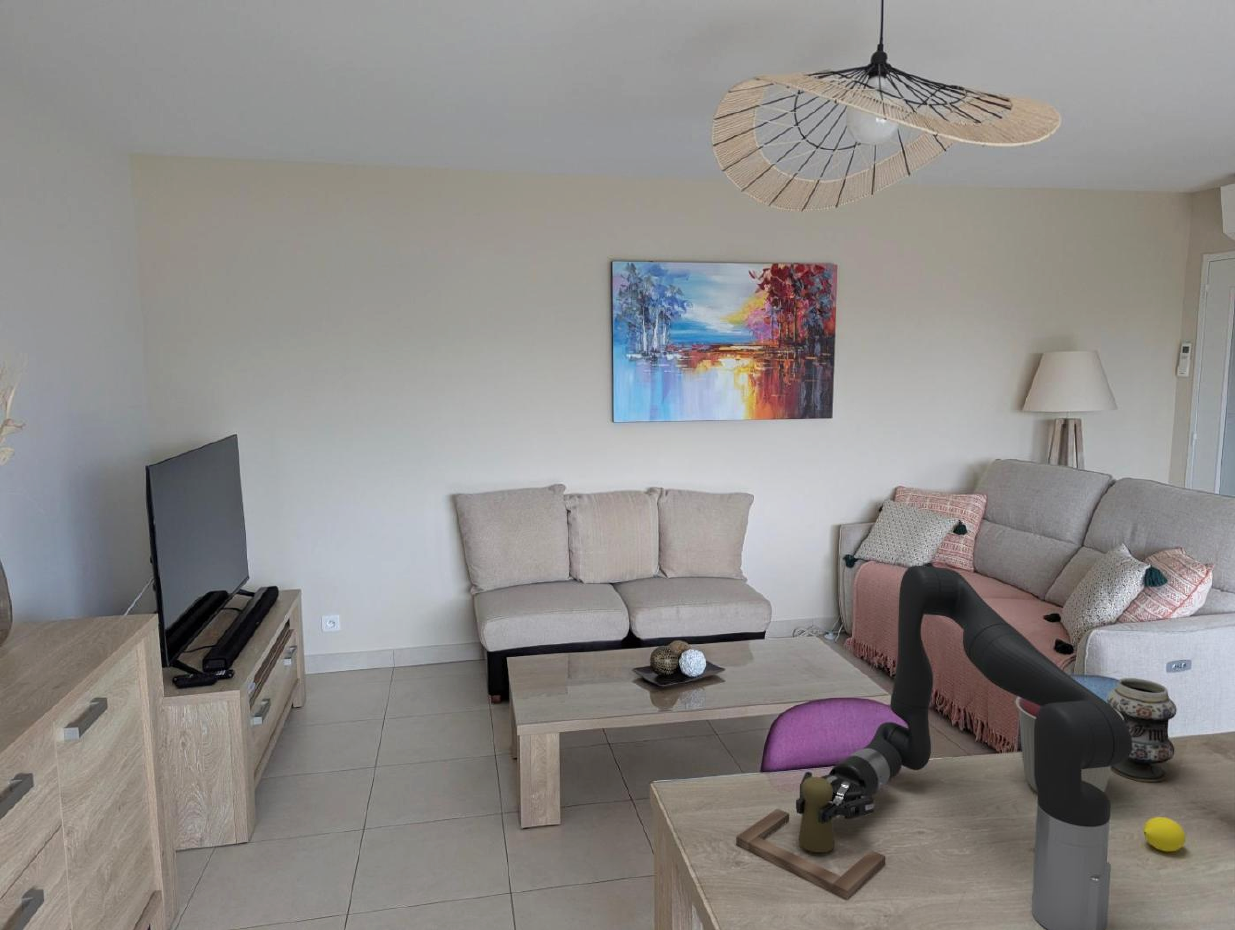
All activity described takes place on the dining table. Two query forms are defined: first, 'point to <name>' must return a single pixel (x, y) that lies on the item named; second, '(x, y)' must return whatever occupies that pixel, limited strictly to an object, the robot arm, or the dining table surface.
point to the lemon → (1164, 834)
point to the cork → (816, 816)
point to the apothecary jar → (1144, 727)
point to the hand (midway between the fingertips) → (809, 813)
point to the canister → (1027, 723)
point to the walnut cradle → (803, 868)
